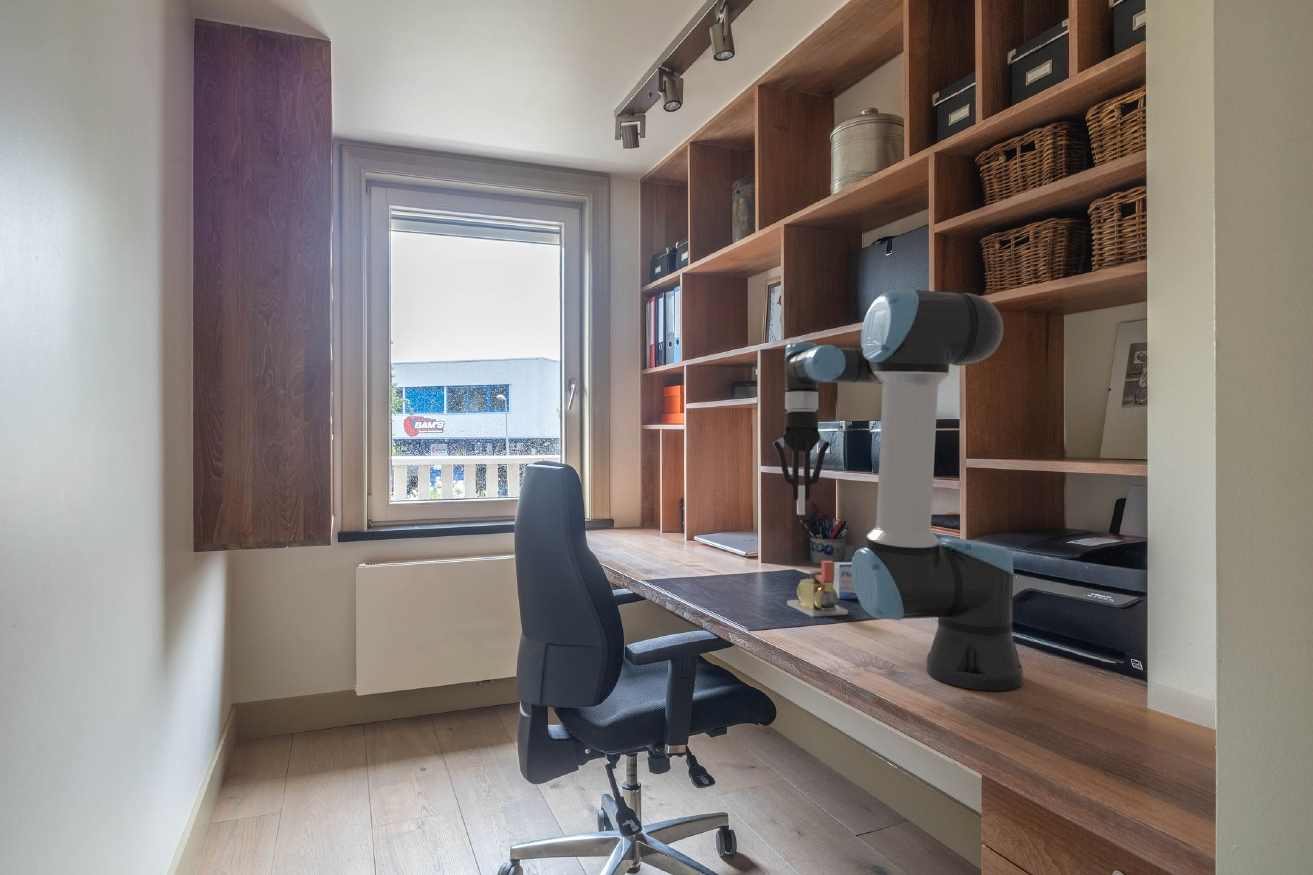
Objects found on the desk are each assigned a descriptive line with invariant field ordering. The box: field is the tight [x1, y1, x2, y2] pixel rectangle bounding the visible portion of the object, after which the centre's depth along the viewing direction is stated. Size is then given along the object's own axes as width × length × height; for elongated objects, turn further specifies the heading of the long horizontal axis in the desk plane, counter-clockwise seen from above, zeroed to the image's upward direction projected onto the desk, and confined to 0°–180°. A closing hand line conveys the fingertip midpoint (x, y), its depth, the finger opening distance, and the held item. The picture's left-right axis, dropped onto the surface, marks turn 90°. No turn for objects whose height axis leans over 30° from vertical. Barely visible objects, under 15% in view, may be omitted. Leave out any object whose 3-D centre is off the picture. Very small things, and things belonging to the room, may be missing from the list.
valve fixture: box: [786, 578, 849, 618], centre depth 171 cm, size 12×9×7 cm
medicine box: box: [833, 561, 859, 600], centre depth 184 cm, size 8×4×9 cm, turn 95°
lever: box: [809, 560, 835, 583], centre depth 168 cm, size 3×10×5 cm, turn 7°
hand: (800, 514), depth 168 cm, fingers closed
